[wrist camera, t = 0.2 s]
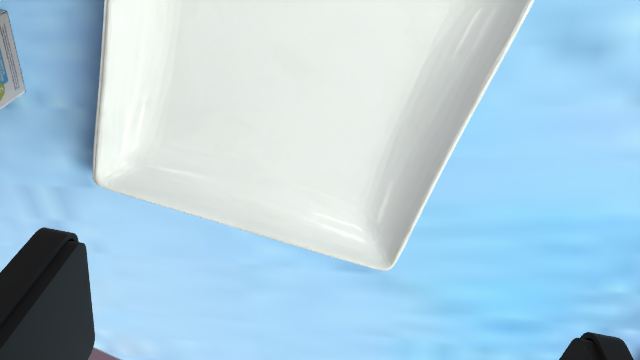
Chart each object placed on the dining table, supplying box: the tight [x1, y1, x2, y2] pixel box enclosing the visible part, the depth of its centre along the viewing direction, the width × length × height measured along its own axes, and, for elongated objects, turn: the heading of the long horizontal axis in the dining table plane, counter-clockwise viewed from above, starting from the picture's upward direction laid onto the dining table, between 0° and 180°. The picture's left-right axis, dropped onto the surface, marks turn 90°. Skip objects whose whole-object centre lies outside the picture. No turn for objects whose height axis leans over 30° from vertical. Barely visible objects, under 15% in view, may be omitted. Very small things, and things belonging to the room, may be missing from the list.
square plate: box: [93, 0, 534, 271], centre depth 39 cm, size 27×27×4 cm
